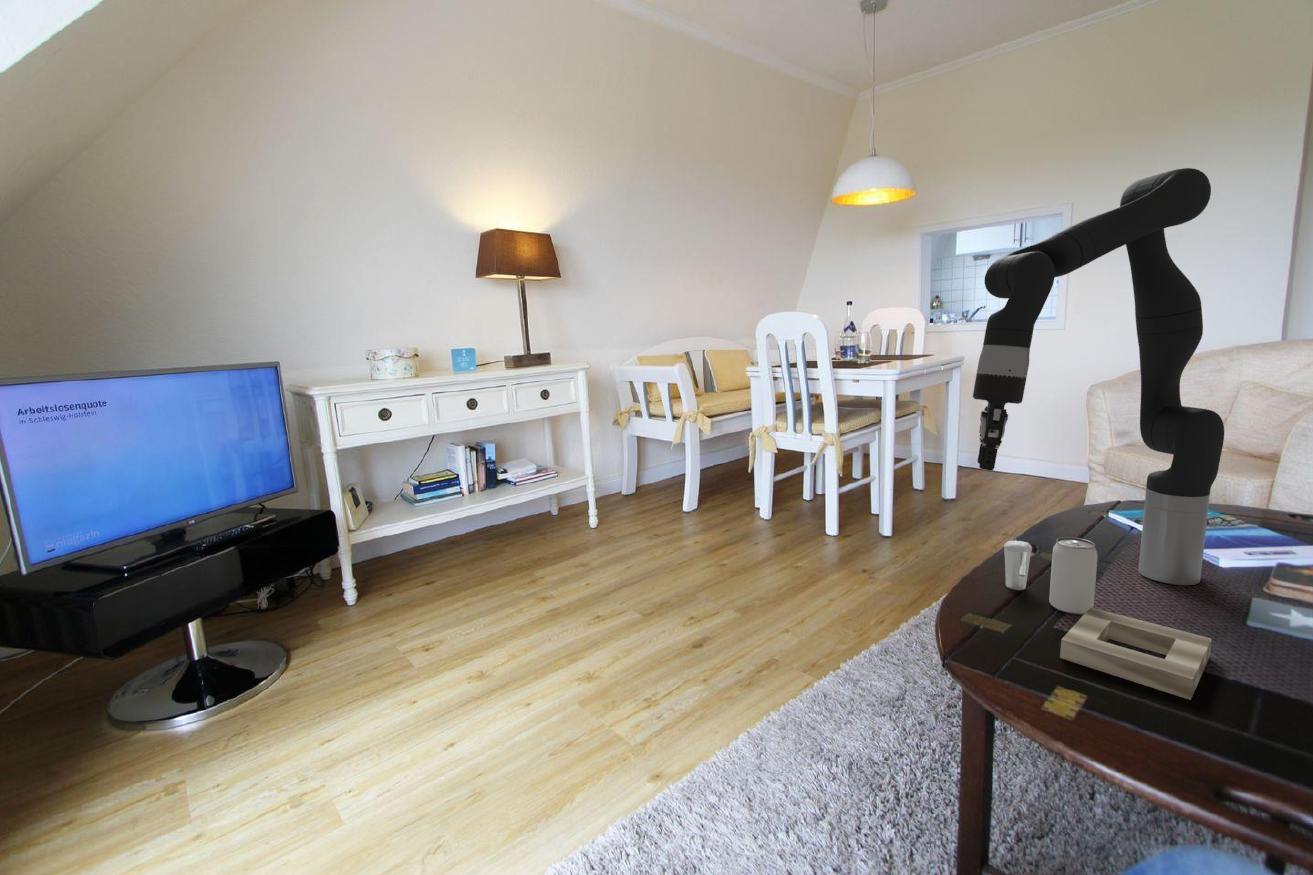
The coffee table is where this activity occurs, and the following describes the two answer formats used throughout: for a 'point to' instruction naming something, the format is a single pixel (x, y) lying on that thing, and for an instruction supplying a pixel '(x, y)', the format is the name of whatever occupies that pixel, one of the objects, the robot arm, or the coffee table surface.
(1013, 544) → the milkshake
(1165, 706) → the coffee table surface
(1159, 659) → the socket block
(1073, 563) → the can
